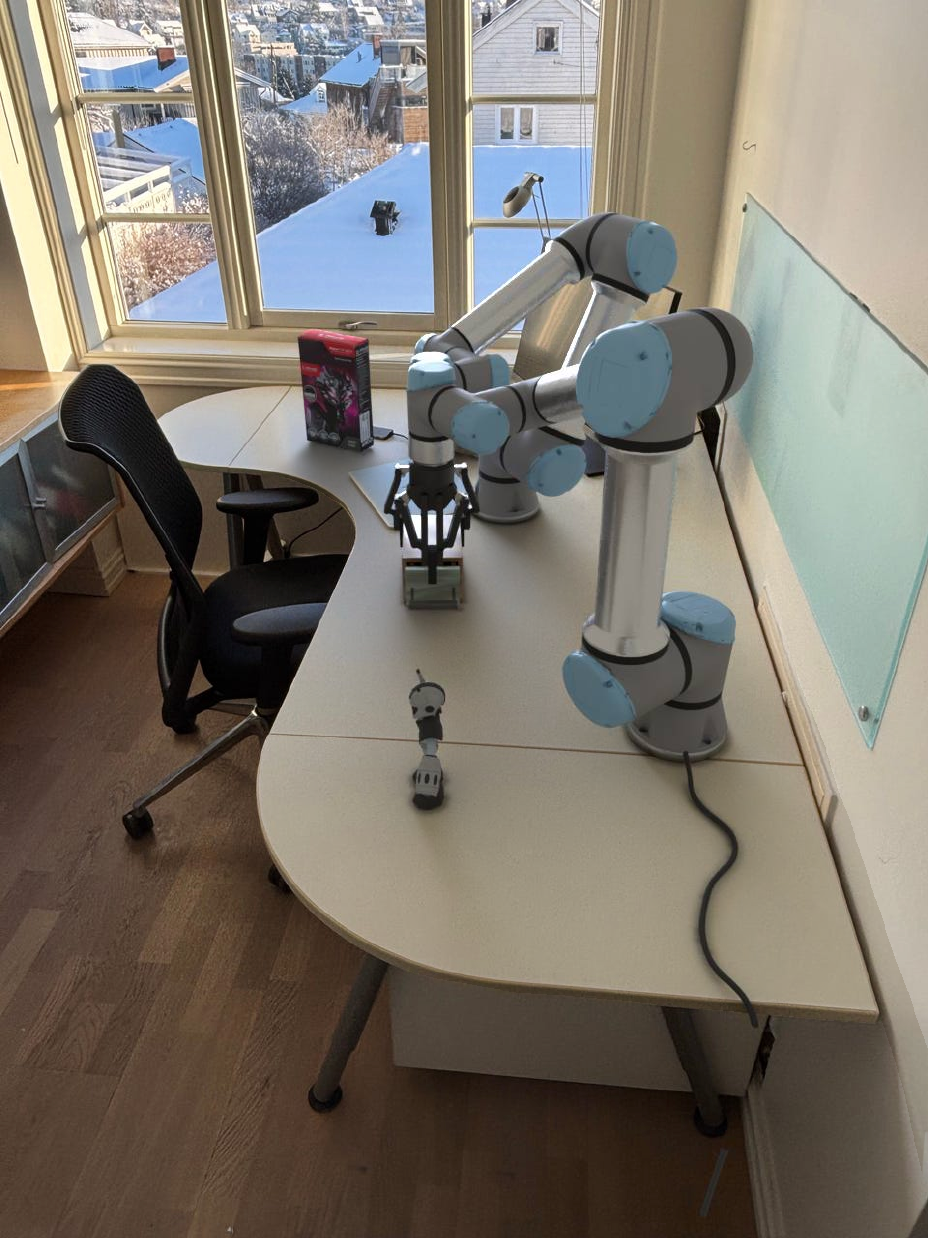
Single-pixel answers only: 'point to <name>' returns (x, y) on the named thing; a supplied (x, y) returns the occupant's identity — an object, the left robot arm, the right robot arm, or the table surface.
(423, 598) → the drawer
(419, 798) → the robot
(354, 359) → the graphics card box
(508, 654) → the table surface
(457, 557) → the cabinet
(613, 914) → the table surface
